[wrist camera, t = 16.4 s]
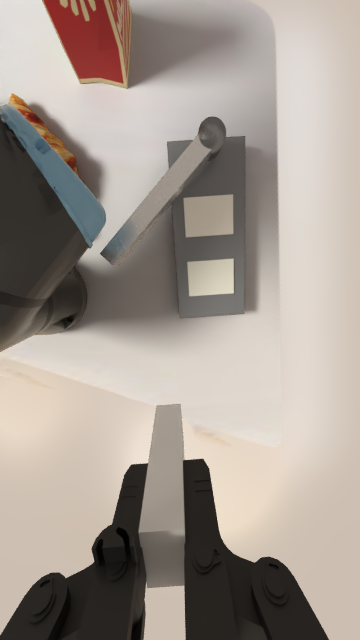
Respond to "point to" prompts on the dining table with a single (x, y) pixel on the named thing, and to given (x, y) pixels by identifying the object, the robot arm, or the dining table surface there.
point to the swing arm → (167, 189)
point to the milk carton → (94, 37)
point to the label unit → (211, 233)
